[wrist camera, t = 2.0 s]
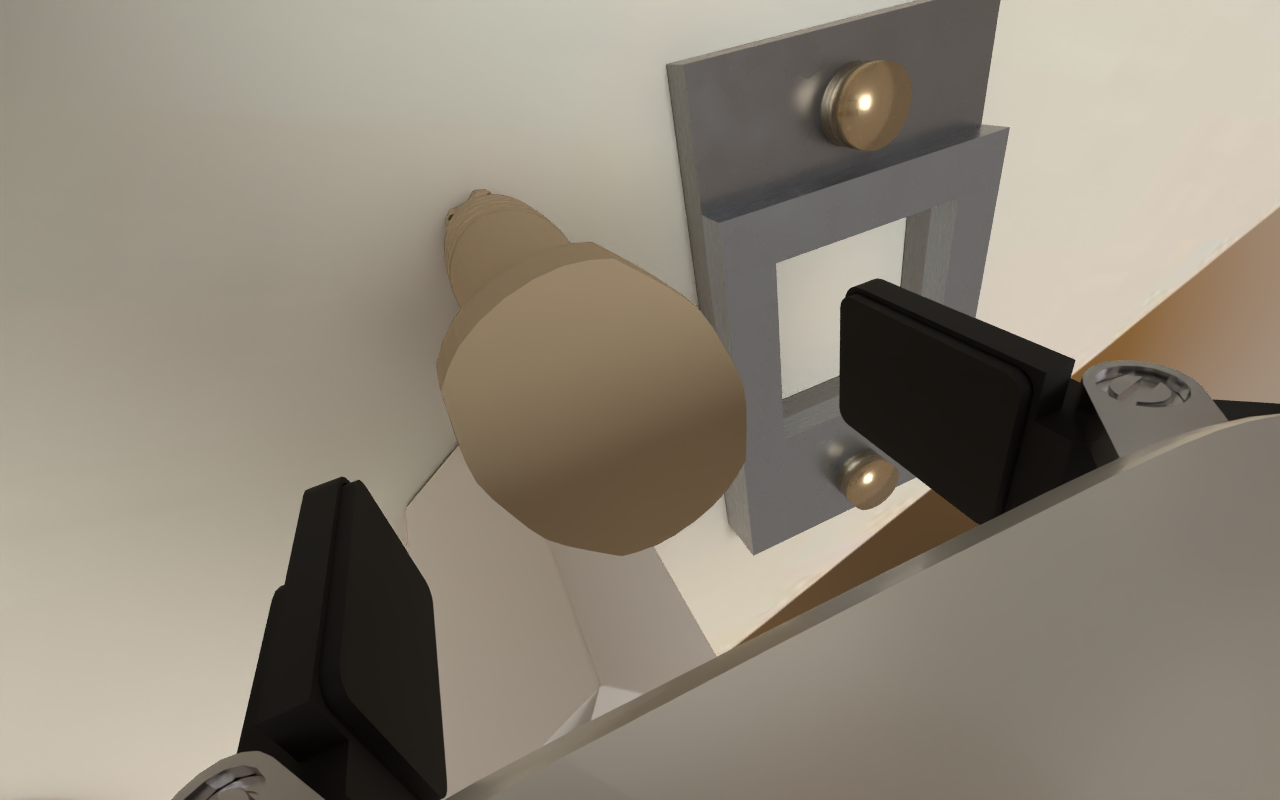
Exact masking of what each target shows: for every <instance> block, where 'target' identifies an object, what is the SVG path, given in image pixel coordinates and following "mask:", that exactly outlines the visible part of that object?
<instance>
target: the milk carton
mask: <svg viewBox="0 0 1280 800" xmlns="http://www.w3.org/2000/svg"><path fill="white" fill-rule="evenodd" d="M406 525H407V540H408V554H409V555H410V557H411V558H412V560H413V562H414V563H415V565H416V566H417V568H418V569H419V571H420V572H421V574H422V576H423V577H424V579H425V580H426V582H427V584H428V586H429V588H430V591H431V595H432V599H433V607H434V620H435V633H436V646H437V659H438V671H439V684H440V697H441V710H442V723H443V736H444V748H445V761H446V774H447V795H446V797H445V798H443V799H441V800H445V799H447V798H449V797H450V796H452V795H454V794H455V793H457V792H459V791H461V790H462V789H464V788H466V787H467V786H469V785H471V784H473V783H474V782H476V781H478V780H480V779H482V778H484V777H486V776H487V775H489V774H491V773H493V772H495V771H497V770H499V769H501V768H503V767H505V766H506V765H508V764H510V763H512V762H514V761H516V760H518V759H520V758H522V757H523V756H525V755H527V754H529V753H531V752H533V751H535V750H537V749H539V748H540V747H542V746H544V745H546V744H548V743H550V742H552V741H554V740H556V739H558V738H559V737H561V736H563V735H565V734H567V733H569V732H571V731H573V730H575V729H576V728H578V727H580V726H582V725H584V724H586V723H588V722H590V721H592V720H594V719H596V718H598V717H600V716H601V715H603V714H605V713H607V712H609V711H611V710H613V709H615V708H617V707H619V706H621V705H623V704H625V703H627V702H629V701H631V700H633V699H635V698H637V697H639V696H641V695H643V694H645V693H647V692H649V691H651V690H653V689H655V688H657V687H659V686H661V685H663V684H664V683H666V682H668V681H670V680H672V679H674V678H676V677H678V676H680V675H682V674H684V673H686V672H688V671H690V670H692V669H694V668H696V667H698V666H700V665H702V664H704V663H706V662H708V661H710V660H712V659H714V658H716V657H717V656H716V655H715V653H714V651H713V649H712V648H711V646H710V644H709V642H708V641H707V639H706V637H705V635H704V634H703V632H702V630H701V628H700V627H699V625H698V623H697V621H696V620H695V618H694V616H693V614H692V613H691V611H690V609H689V607H688V606H687V604H686V602H685V600H684V599H683V597H682V595H681V593H680V592H679V590H678V588H677V586H676V585H675V583H674V581H673V579H672V578H671V576H670V574H669V572H668V571H667V569H666V567H665V565H664V564H663V562H662V560H661V558H660V557H659V555H658V553H657V551H656V550H655V548H654V546H653V547H650V548H647V549H645V550H642V551H639V552H636V553H632V554H628V555H625V556H617V555H611V554H606V553H600V552H594V551H589V550H584V549H579V548H574V547H569V546H565V545H562V544H559V543H556V542H553V541H550V540H547V539H545V538H543V537H542V536H540V535H538V534H537V533H535V532H534V531H532V530H530V529H529V528H527V527H526V526H525V525H524V524H522V523H521V522H520V521H519V520H517V519H516V518H515V517H514V516H512V515H511V514H510V513H509V512H508V511H506V510H505V509H504V508H503V507H501V506H500V505H499V504H498V503H496V502H495V501H494V500H493V499H492V498H491V497H490V496H489V495H488V494H487V493H486V492H485V491H484V490H483V489H482V488H481V487H480V486H479V485H478V484H477V483H476V481H475V479H474V477H473V475H472V473H471V472H470V470H469V468H468V466H467V464H466V462H465V460H464V457H463V455H462V452H461V449H460V447H459V445H458V447H457V448H456V449H455V450H454V451H453V452H452V454H451V455H450V456H449V457H448V458H447V460H446V461H445V462H444V463H443V464H442V466H441V467H440V468H439V469H438V470H437V472H436V473H435V474H434V475H433V476H432V478H431V479H430V480H429V481H428V482H427V484H426V485H425V486H424V487H423V488H422V490H421V491H420V492H419V493H418V494H417V495H416V497H415V498H414V499H413V500H412V501H411V503H410V504H409V505H408V506H407V508H406Z"/></svg>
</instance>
